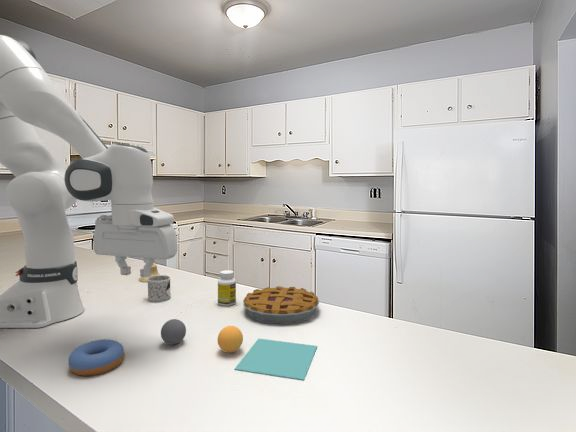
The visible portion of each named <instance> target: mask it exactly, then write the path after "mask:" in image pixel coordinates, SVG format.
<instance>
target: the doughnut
mask: <svg viewBox="0 0 576 432" xmlns="http://www.w3.org/2000/svg"><path fill="white" fill-rule="evenodd" d="M125 354H126V353H125V349H124V346H123V344H122V343H121V342H119V341H118V340H115V339H98V340H92V341H90V342H86V343H84V344H82V345H80V346H78V347H76V348H75V349H74V350H72V352H71V353H70V354H69V357H68V358H67V359H68V367H69V370H70V371H71V372H72V373H74V374H75V375H78V376H82V377H83V376H86V377H87V376H88V377H89V376H90V377H91V376H97V375H101V374H104V373H107V372H109V371H112V370H114V369H115V368H117V367H118V366H119V365H120V364H121V363H122V362H123V359H124V358H125Z"/></svg>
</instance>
